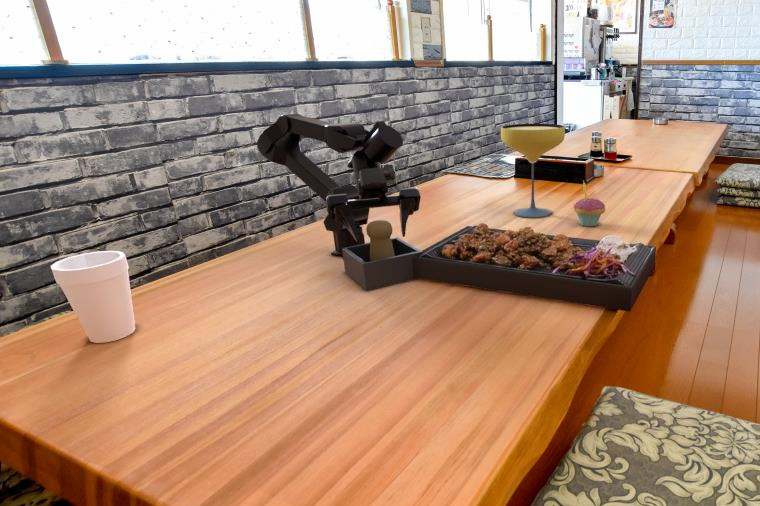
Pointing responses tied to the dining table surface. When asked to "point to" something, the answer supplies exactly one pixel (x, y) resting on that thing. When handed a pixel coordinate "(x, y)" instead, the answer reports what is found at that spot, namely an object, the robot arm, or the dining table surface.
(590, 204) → the cupcake
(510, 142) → the cocktail glass
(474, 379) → the dining table surface
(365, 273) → the dark grey open box
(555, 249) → the food platter
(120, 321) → the foam cup
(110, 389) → the dining table surface
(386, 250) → the cork
